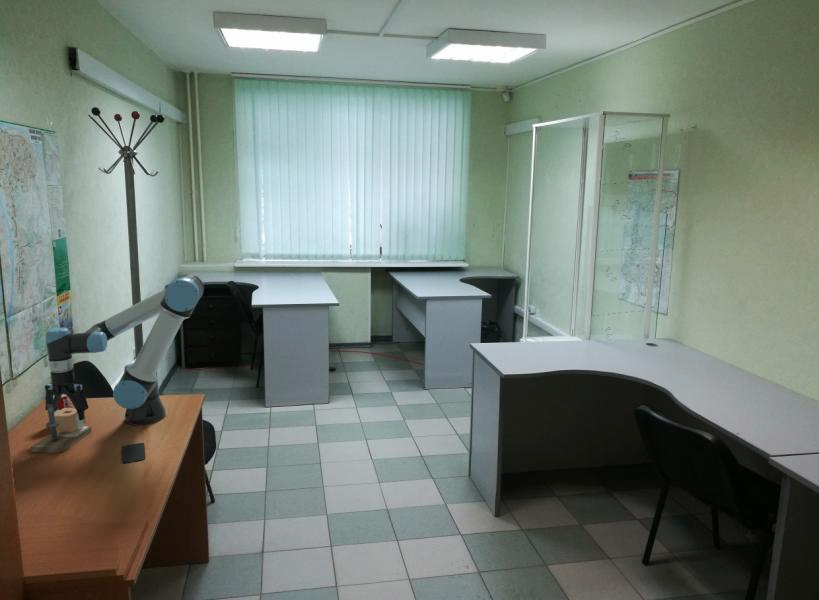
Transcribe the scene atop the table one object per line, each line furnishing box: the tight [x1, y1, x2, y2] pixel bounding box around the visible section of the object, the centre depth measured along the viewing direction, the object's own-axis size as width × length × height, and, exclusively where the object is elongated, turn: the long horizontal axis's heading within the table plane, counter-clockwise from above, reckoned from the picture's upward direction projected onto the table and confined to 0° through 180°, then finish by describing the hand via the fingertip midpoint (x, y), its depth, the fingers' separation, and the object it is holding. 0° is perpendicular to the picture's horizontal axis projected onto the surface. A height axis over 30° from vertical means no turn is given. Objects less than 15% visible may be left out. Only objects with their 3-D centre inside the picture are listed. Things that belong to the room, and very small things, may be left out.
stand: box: [30, 404, 93, 454], centre depth 218 cm, size 11×18×16 cm, turn 175°
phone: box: [121, 442, 146, 465], centre depth 209 cm, size 7×1×15 cm
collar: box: [54, 407, 87, 432], centre depth 223 cm, size 8×8×6 cm
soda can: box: [53, 394, 72, 410], centre depth 235 cm, size 7×7×12 cm
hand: (69, 427), depth 224 cm, fingers closed on collar, 8 cm apart
